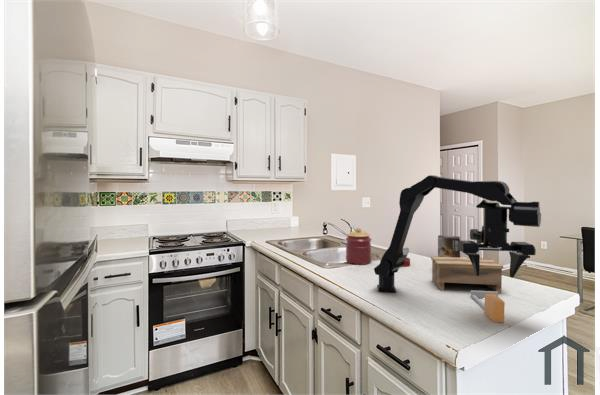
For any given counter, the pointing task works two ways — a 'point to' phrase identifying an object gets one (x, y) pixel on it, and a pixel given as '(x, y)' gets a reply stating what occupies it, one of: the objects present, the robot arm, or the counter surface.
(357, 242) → the canister
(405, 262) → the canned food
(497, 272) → the cabinet
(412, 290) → the counter surface
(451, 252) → the coffee box
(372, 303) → the counter surface
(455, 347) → the counter surface
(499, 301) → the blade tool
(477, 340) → the counter surface
